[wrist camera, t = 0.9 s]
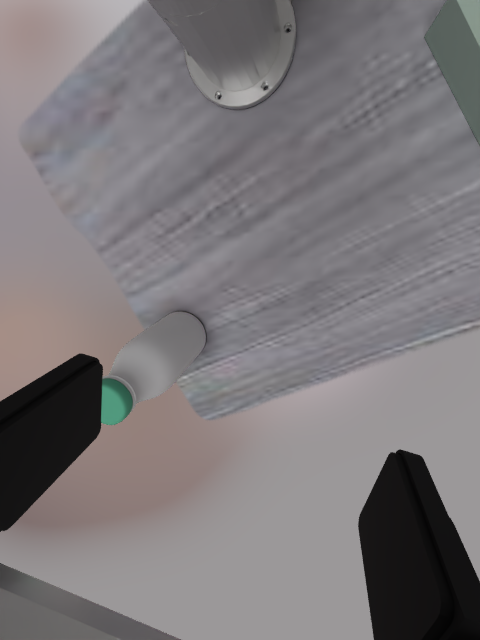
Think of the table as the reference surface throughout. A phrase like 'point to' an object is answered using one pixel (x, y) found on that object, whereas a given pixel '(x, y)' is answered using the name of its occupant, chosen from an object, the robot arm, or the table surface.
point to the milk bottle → (150, 364)
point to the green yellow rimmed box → (459, 54)
